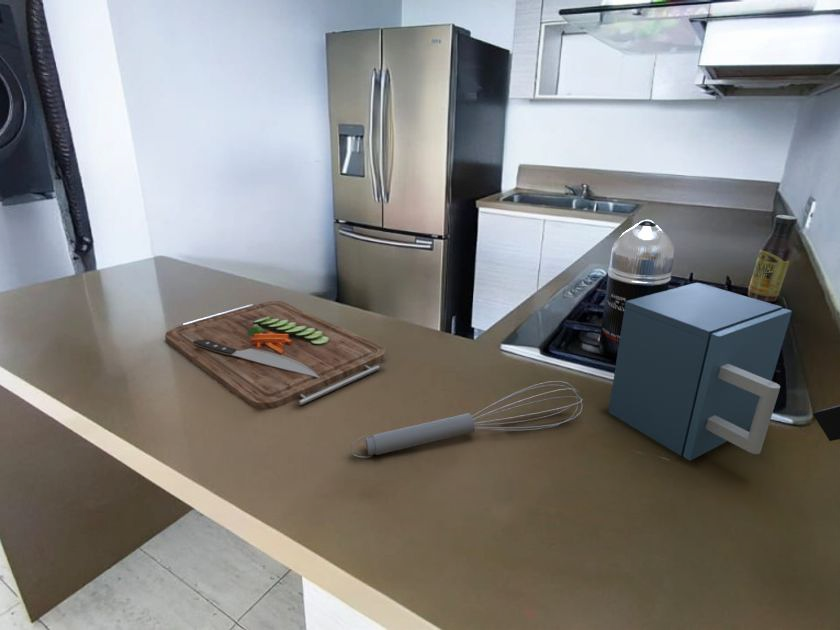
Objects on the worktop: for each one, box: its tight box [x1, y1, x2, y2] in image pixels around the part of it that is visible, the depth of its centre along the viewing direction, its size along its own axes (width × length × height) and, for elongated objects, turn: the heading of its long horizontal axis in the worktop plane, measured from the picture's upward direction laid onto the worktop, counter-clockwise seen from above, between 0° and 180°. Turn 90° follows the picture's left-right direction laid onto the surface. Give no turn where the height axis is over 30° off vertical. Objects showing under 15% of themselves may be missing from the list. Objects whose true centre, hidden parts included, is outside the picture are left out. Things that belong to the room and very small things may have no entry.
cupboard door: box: [682, 308, 793, 461], centre depth 63 cm, size 7×16×18 cm, turn 120°
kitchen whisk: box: [350, 380, 584, 459], centre depth 69 cm, size 6×34×6 cm, turn 106°
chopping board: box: [164, 300, 386, 410], centre depth 97 cm, size 45×27×3 cm, turn 46°
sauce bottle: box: [747, 214, 798, 303], centre depth 117 cm, size 7×6×20 cm
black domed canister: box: [598, 219, 676, 361], centre depth 90 cm, size 10×10×25 cm
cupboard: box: [608, 281, 783, 457], centre depth 71 cm, size 12×16×18 cm
